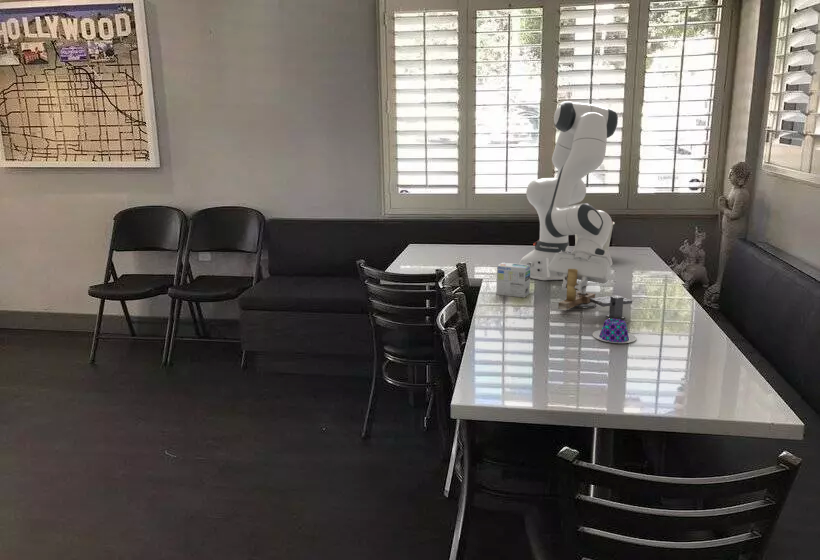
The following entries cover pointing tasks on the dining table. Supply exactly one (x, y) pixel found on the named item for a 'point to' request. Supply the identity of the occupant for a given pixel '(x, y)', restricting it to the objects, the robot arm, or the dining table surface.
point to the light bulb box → (513, 279)
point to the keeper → (612, 305)
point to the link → (573, 293)
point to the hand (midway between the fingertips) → (570, 288)
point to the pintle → (583, 292)
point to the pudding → (614, 332)
